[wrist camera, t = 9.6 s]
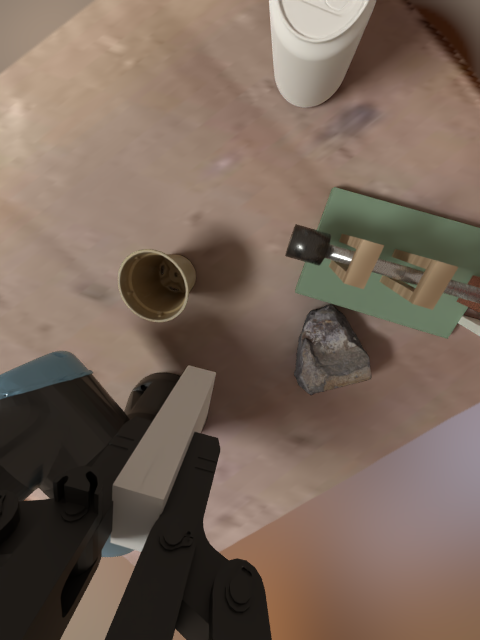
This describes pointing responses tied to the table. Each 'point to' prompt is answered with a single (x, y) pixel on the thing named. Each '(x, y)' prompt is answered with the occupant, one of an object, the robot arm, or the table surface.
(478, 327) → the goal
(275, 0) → the beverage can
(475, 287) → the rod
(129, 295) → the flower pot
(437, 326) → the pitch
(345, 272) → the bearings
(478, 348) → the table surface
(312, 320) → the rock
